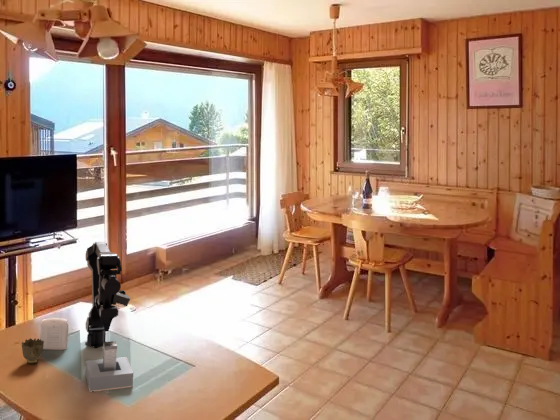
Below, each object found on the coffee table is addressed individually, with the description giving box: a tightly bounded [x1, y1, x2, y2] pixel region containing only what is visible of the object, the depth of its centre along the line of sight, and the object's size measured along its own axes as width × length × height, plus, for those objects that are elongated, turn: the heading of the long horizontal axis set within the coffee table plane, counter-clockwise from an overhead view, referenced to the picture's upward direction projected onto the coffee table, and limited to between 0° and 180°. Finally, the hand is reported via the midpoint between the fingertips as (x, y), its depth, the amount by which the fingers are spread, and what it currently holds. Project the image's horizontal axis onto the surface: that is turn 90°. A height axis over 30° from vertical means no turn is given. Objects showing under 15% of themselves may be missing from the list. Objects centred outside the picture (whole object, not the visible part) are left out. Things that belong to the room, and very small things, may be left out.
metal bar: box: [102, 340, 118, 372], centre depth 185 cm, size 4×4×13 cm
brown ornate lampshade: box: [21, 338, 44, 365], centre depth 193 cm, size 8×7×8 cm
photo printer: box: [39, 317, 69, 351], centre depth 207 cm, size 10×4×12 cm, turn 103°
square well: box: [84, 356, 134, 393], centre depth 185 cm, size 14×14×5 cm
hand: (105, 327), depth 200 cm, fingers open, 9 cm apart
